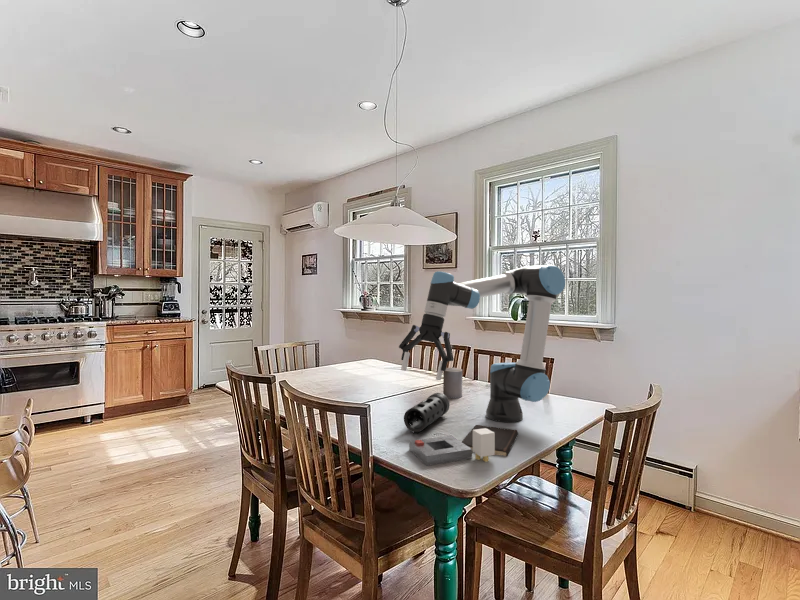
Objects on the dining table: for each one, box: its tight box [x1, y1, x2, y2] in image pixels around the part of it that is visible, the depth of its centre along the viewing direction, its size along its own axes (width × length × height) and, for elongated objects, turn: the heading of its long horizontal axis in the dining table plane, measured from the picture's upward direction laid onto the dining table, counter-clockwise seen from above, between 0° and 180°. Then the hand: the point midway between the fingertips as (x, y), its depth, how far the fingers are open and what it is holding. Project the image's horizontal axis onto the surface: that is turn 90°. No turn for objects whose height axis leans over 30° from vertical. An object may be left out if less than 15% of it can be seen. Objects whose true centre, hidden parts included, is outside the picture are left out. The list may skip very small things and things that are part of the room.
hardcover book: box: [461, 424, 519, 457], centre depth 154 cm, size 16×23×2 cm
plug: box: [472, 428, 496, 463], centre depth 138 cm, size 5×5×9 cm
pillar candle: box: [442, 366, 463, 399], centre depth 219 cm, size 10×10×15 cm
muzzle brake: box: [403, 392, 451, 435], centre depth 174 cm, size 10×28×10 cm, turn 154°
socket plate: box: [408, 435, 473, 467], centre depth 142 cm, size 16×14×4 cm
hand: (420, 375), depth 149 cm, fingers open, 13 cm apart
